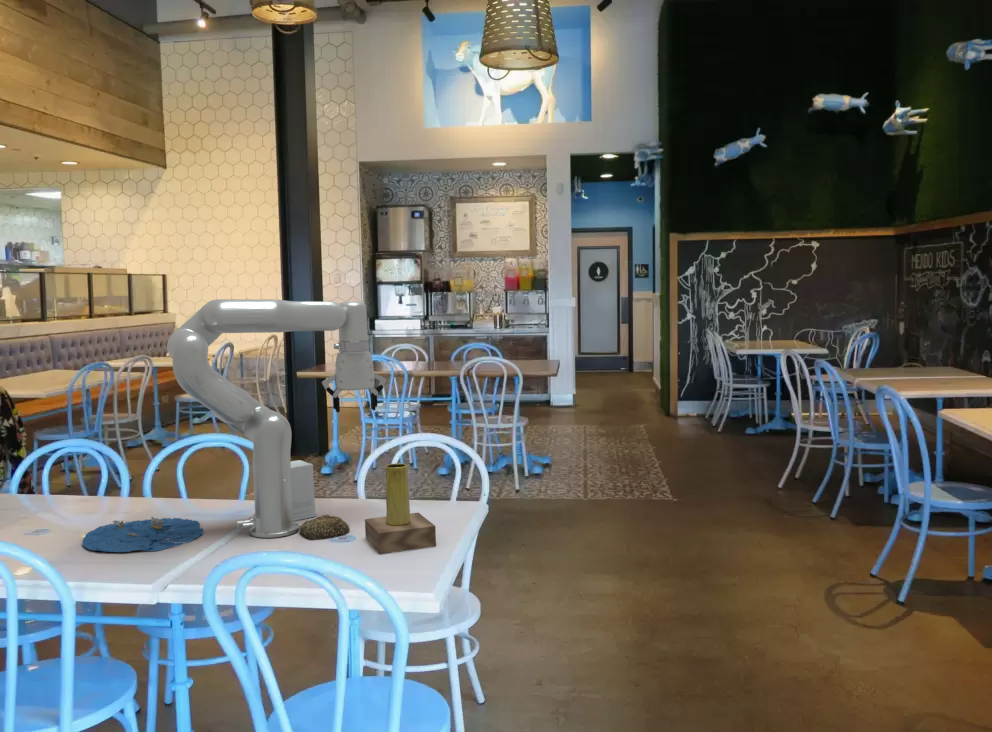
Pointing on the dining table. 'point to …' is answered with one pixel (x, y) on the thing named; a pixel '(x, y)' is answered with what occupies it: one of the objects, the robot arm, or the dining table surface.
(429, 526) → the block
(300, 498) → the supplement box
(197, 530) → the decorative plate
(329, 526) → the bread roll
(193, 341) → the robot arm
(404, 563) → the dining table surface
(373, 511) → the dining table surface
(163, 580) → the dining table surface
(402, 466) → the vase
